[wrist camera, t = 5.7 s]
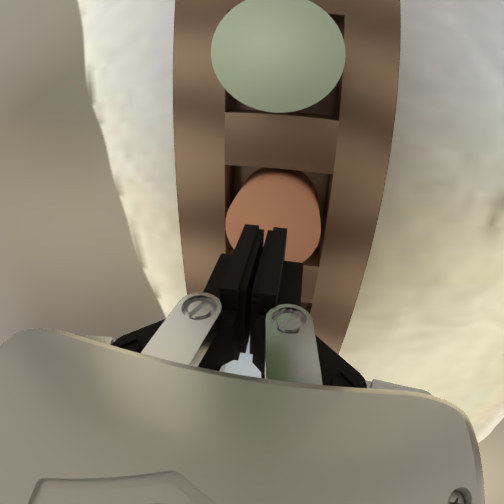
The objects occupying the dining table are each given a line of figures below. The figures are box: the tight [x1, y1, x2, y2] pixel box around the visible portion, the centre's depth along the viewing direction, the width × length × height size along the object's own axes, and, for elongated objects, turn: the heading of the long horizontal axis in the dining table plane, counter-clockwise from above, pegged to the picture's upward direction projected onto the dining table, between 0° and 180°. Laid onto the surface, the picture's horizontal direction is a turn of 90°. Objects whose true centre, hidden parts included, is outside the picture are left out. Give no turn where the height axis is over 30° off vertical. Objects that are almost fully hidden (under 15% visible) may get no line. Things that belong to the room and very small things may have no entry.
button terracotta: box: [225, 167, 321, 263], centre depth 18 cm, size 5×5×4 cm
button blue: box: [224, 337, 261, 378], centre depth 20 cm, size 5×5×4 cm
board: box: [173, 0, 400, 354], centre depth 19 cm, size 28×12×3 cm, turn 178°
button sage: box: [211, 0, 346, 113], centre depth 11 cm, size 5×5×4 cm
